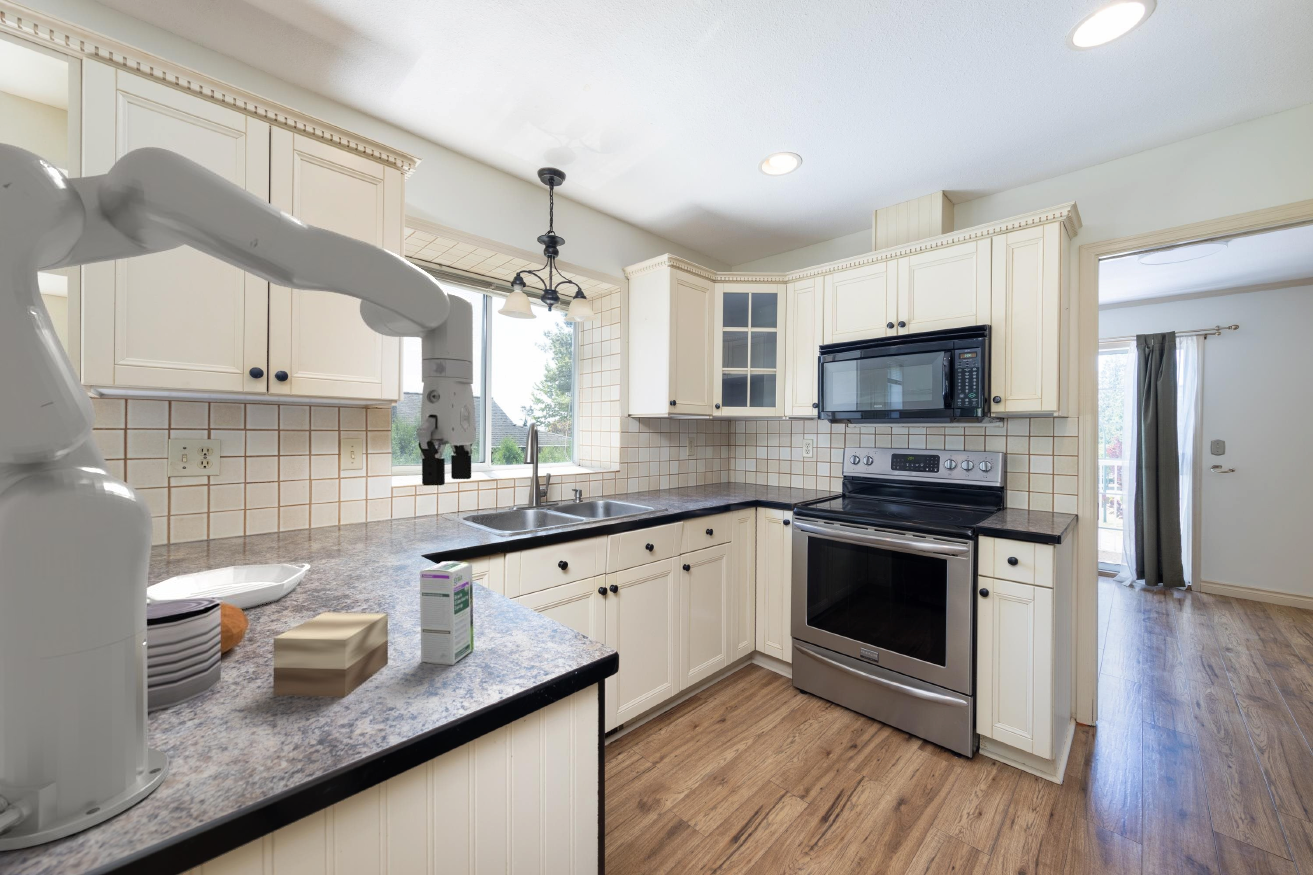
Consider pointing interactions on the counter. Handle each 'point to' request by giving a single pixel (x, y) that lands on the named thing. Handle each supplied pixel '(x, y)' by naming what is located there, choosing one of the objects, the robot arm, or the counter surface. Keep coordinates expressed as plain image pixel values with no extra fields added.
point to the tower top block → (330, 640)
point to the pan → (231, 585)
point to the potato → (232, 626)
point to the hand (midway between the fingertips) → (448, 481)
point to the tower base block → (330, 676)
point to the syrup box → (446, 612)
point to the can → (182, 650)
